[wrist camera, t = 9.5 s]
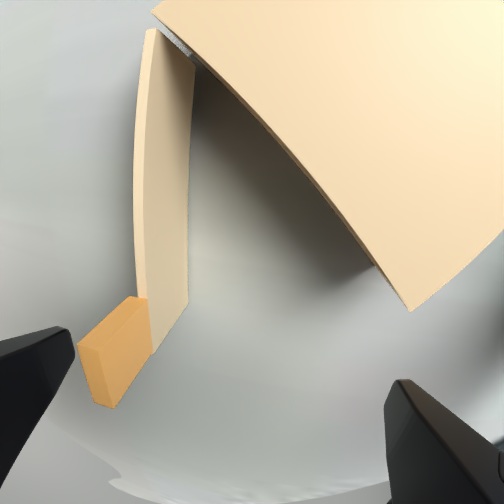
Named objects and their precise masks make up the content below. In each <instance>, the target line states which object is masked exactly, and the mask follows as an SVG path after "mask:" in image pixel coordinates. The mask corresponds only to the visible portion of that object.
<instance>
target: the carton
mask: <svg viewBox="0 0 504 504" xmlns="http://www.w3.org/2000/svg"><path fill="white" fill-rule="evenodd" d="M150 12H151V13H152V14H153V15H154V16H155V17H156V18H157V19H158V20H159V21H160V22H161V23H162V24H163V25H164V26H165V27H166V28H167V29H168V30H169V31H170V32H171V33H172V34H173V35H174V36H175V37H176V38H177V39H178V40H179V41H180V42H181V43H182V44H183V45H184V46H185V47H186V48H187V49H188V50H189V51H190V52H191V53H192V54H193V55H194V56H195V57H196V58H197V59H198V60H199V61H200V62H201V63H202V64H203V65H204V66H206V67H207V68H208V69H209V70H210V71H211V72H212V73H213V74H214V75H215V76H216V77H217V78H218V79H219V80H220V81H221V82H222V83H223V84H224V85H225V86H226V87H227V88H228V89H229V90H230V91H231V92H232V93H233V94H234V95H235V96H236V98H237V99H238V100H239V101H240V102H241V103H242V104H243V105H244V106H245V107H246V108H247V109H248V110H249V111H250V112H251V113H252V114H253V115H254V117H255V118H256V119H257V120H258V121H259V122H260V123H261V124H262V125H263V126H264V127H265V129H266V130H267V131H268V132H269V133H270V134H271V135H272V136H273V137H274V139H275V140H276V141H277V142H278V143H279V144H280V145H281V147H282V148H283V149H284V150H285V151H286V152H287V153H288V155H289V156H290V157H291V158H292V159H293V161H294V162H295V163H296V164H297V165H298V166H299V168H300V169H301V170H302V171H303V172H304V174H305V175H306V176H307V177H308V178H309V180H310V181H311V182H312V183H313V185H314V186H315V187H316V188H317V190H318V191H319V192H320V193H321V195H322V196H323V197H324V198H325V200H326V201H327V202H328V203H329V205H330V206H331V207H332V209H333V210H334V211H335V212H336V214H337V215H338V216H339V218H340V219H341V220H342V222H343V223H344V224H345V226H346V227H347V228H348V230H349V231H350V232H351V234H352V235H353V236H354V238H355V239H356V240H357V242H358V243H359V244H360V246H361V247H362V249H363V250H364V251H365V253H366V254H367V256H368V257H369V258H370V260H371V261H372V263H373V264H374V266H375V267H376V268H377V269H378V271H379V272H380V273H381V274H382V276H383V277H384V278H385V280H386V281H387V282H388V284H389V285H390V286H391V287H392V289H393V290H394V291H395V293H396V294H397V295H398V297H399V298H400V299H401V301H402V302H403V303H404V305H405V306H406V307H407V309H408V310H409V312H410V313H411V312H412V311H413V310H414V309H416V308H417V307H418V306H420V305H421V304H422V303H423V302H425V301H426V300H427V299H428V298H430V297H431V296H432V295H433V294H434V293H436V292H437V291H438V290H439V289H440V288H442V287H443V286H444V285H445V284H446V283H447V282H449V281H450V280H451V279H452V278H453V277H454V276H455V275H457V274H458V273H459V272H460V271H461V270H462V269H463V268H464V267H466V266H467V265H468V264H469V263H470V262H471V261H472V260H473V259H474V258H475V257H476V256H477V255H478V254H479V253H480V252H481V251H483V250H484V249H485V248H486V247H487V246H488V245H489V244H490V243H491V242H492V241H493V240H494V239H495V238H496V237H497V236H498V235H499V234H500V232H501V231H502V230H503V229H504V2H503V1H502V0H163V1H162V2H161V3H160V4H159V5H157V6H156V7H155V8H154V9H153V10H151V11H150Z"/></svg>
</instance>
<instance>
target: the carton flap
mask: <svg viewBox="0 0 504 504" xmlns="http://www.w3.org/2000/svg"><path fill="white" fill-rule="evenodd" d="M195 70H196V65H195V64H194V63H193V62H192V61H191V60H190V59H189V58H188V57H187V56H186V55H185V54H184V53H183V52H182V51H181V50H180V49H179V48H178V47H177V46H176V45H175V44H173V43H172V42H171V41H170V40H169V39H168V38H167V37H166V36H165V35H164V34H163V33H162V32H161V31H159V30H158V29H157V28H153V29H147V30H146V35H145V41H144V48H143V54H142V62H141V69H140V78H139V87H138V97H137V108H136V121H135V138H134V163H133V222H134V247H135V265H136V278H137V290H138V297H133V296H128V297H127V298H126V299H125V300H124V301H123V302H122V303H121V304H119V305H118V306H117V307H116V308H115V309H114V310H113V311H112V312H111V313H110V314H108V315H107V316H106V317H105V318H104V319H103V320H102V321H101V322H100V323H99V324H98V325H97V326H95V327H94V328H93V329H92V330H91V331H90V332H89V333H88V334H87V335H86V336H85V337H84V338H83V339H82V340H81V341H79V342H78V343H77V344H76V345H77V349H78V352H79V356H80V360H81V363H82V367H83V370H84V373H85V377H86V380H87V383H88V386H89V389H90V392H91V395H92V398H93V401H94V403H97V404H100V405H103V406H106V407H109V408H112V409H115V407H116V406H117V404H118V403H119V401H120V400H121V398H122V397H123V395H124V394H125V392H126V391H127V389H128V388H129V386H130V385H131V383H132V382H133V380H134V379H135V377H136V376H137V374H138V373H139V371H140V370H141V368H142V367H143V366H144V364H145V363H146V361H147V360H148V358H149V357H150V355H151V354H154V353H155V352H156V350H157V349H158V347H159V346H160V344H161V343H162V341H163V340H164V338H165V337H166V335H167V334H168V332H169V331H170V330H171V328H172V327H173V325H174V324H175V322H176V321H177V319H178V318H179V316H180V315H181V314H182V312H183V311H184V309H185V308H186V306H187V305H188V182H189V156H190V136H191V120H192V106H193V93H194V81H195Z"/></svg>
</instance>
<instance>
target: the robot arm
mask: <svg viewBox="0 0 504 504" xmlns="http://www.w3.org/2000/svg"><path fill="white" fill-rule="evenodd" d="M74 358H75V350H74V346H73V342H72V338H71V334H70V332H69V330H67V329H65V328H62V327H59V326H55V327H52V328H48V329H44V330H40V331H37V332H33V333H29V334H25V335H22V336H18V337H14V338H10V339H6V340H2V341H0V488H1V486H2V484H3V482H4V480H5V478H6V477H7V475H8V473H9V471H10V469H11V467H12V466H13V464H14V462H15V460H16V458H17V456H18V455H19V453H20V451H21V450H22V448H23V446H24V445H25V443H26V441H27V439H28V438H29V436H30V434H31V433H32V431H33V430H34V428H35V426H36V425H37V423H38V422H39V420H40V418H41V417H42V415H43V414H44V412H45V410H46V409H47V407H48V406H49V404H50V403H51V401H52V399H53V398H54V396H55V394H56V393H57V391H58V389H59V387H60V385H61V383H62V381H63V379H64V377H65V375H66V374H67V372H68V370H69V368H70V366H71V364H72V363H73V361H74ZM384 421H385V439H386V459H387V467H388V473H389V480H390V488H391V496H392V504H504V453H503V452H502V451H499V449H498V448H496V447H495V446H494V445H493V444H491V443H490V442H489V441H488V440H486V439H485V438H484V437H483V436H481V435H480V434H479V433H477V432H476V431H475V430H474V429H472V428H471V427H470V426H469V425H467V424H466V423H465V422H464V421H462V420H461V419H460V418H459V417H457V416H456V415H455V414H453V413H452V412H451V411H450V410H448V409H447V408H446V407H445V406H443V405H442V404H441V403H440V402H438V401H437V400H436V399H434V398H433V397H432V396H431V395H429V394H428V393H427V392H426V391H424V390H423V389H422V388H421V387H419V386H418V385H417V384H416V383H414V382H413V381H412V380H410V379H398V380H396V381H395V382H394V383H393V385H392V387H391V390H390V392H389V394H388V397H387V399H386V401H385V404H384Z"/></svg>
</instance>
